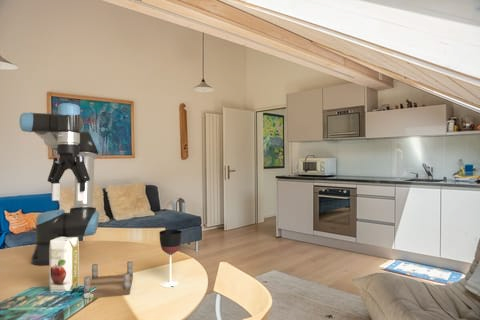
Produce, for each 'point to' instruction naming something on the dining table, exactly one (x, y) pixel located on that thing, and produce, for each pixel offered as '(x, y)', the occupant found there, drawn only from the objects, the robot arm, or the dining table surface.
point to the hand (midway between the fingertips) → (67, 200)
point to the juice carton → (63, 263)
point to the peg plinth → (109, 283)
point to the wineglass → (170, 249)
